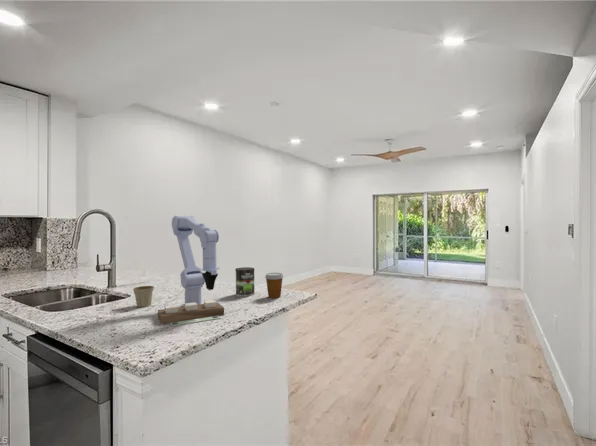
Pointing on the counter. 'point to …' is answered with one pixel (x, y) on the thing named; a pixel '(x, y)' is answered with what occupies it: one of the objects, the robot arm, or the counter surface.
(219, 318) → the pattern card
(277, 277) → the disposable coffee cup
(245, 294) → the coffee can
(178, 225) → the robot arm
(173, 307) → the cream square block
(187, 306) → the button middle
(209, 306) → the white square block
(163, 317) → the brown flat rectangular frame
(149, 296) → the flower pot
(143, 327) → the counter surface
